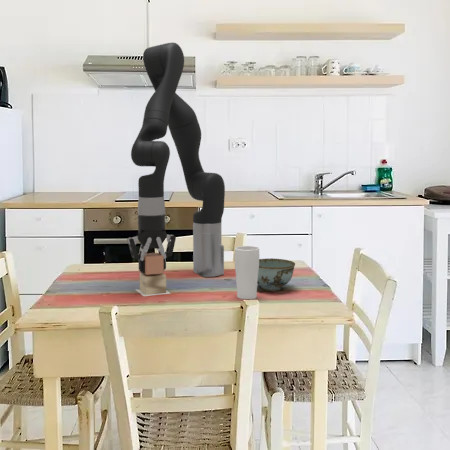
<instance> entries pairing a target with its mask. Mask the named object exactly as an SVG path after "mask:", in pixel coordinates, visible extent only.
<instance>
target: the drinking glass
mask: <svg viewBox="0 0 450 450" xmlns="http://www.w3.org/2000/svg"><path fill="white" fill-rule="evenodd" d="M259 259H260V248H259V247H258V246H254V245H240V246H236V247H235V248H234V269H235V271H234V272H235V282H236V297H237V298H238V299H240V300H245V299H250V300H255V299H257V297H258V295H257V293H258V284H257V283H258V272H259Z"/></svg>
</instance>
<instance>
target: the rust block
mask: <svg viewBox="0 0 450 450" xmlns="http://www.w3.org/2000/svg"><path fill="white" fill-rule="evenodd" d="M144 261H145V274H146V275H149V274H161V273H163V274H165V273H164V272H165V270H164V260H163V255H161V254H159V253H158V252H150V253H148V252H147V253H146V255H145V258H144Z"/></svg>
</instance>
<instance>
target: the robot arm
mask: <svg viewBox="0 0 450 450" xmlns="http://www.w3.org/2000/svg"><path fill="white" fill-rule="evenodd" d="M182 49H183V48H181V46H180V45H179V44H178V43H176V42H167V43H163V44H162V43H161V44H159V45H158V44H157V45H153V46H150V47H147V48H145V50H144V52H143V55H142V59H143V65H144V68H145V71H146V74H147V76H148V78H149V80H150V83H151V85H152V87H153V90H154V93H152V95H151V96H150V98H149V100H148V102H147V104H146V105H145V110H144V114H143V120H142V125H141V128H140V131H139V133H138V134H137V137H136V139H135V140H134V142H133V144H132V146H131V150H130V157H131V160H132V163H133V164H134V165H135V166H138V167H153V168H155V169H154V171H153V172H152V173H149V174H144V175H141V176H139V178H138V183H137V185H138V186H137V187H138V201H137V229H138V230H137V234H136V236H133V237H130V236H129V237H127V243H128V248H129V251H130V255H131V258H133V259H135V260H138V271H139V273H142V274H144V273H145V261H144V258H145V255H146V254H148V251H149V250H151V249H156V250H157V253H159V254H161V255H163V260H164V271H165V270H166V268H167V258H169V257H172V256H173V254H174V249H175V245H176V244H175V243H176V239H177V237H176V235H174V234H167V232H166V205H165V204H166V203H165V197H164V196H165V195H164V194H165V188H164V187H165V186H164V185H165V176H166V171H167V167H168V164H169V162H170V161H169V160H170V156H171V150H170V147H169V145H168V144H167V143H166V142H165V141H163V140H159V139H162V138H164V137H166V135H167V132H168V129H169V132H170V136H171V139H172V140H173V143H174V146H175V149H176V152H177V154H178V155H177V156H178V157H179V161H180V164H181V167H182V172H183V176H184V180H185V185H186V188H187V191H188V194H189V195H190V197H191V198H192V199H193V200H196V201H201V202H202V207H201V209H200V210H199V211H196V212H194V213H193V215H192V236H193V237H192V238H193V239H192V252H193V255H192V260H193V261H192V263H193V268H192V269H193V273H194V274H196V275H198V276H200V277H203V278H207V277H208V278H210V277H211V278H212V277H218V276H222V275H225V247H224V245H223V244H222V221H223V220H222V219H223V214H224V211H225V195H226V188H225V187H226V186H225V181H224V178H223V176H222V175H220V174H219V173H217V172H205V171H204V169H203V166H202V163H201V160H200V155H199V153H200V148H201V141H202V130H201V127H200V123H199V120H198V117H197V115H196V112H195V110H194V109H193V108H192V107H191V105H190V104H188V103H187V102H186V101H185V100H184V99H183V98H182V97H181V96H179V95H178V94H177V93H176V92H177V89H178V86H179V83H180V80H181V77H182V74H183V71H184V66H185V55H184V51H183V50H182ZM165 241H166V242H167V244H166V249H165V248H164V245H163V243H164V242H165ZM137 242H139V243H140V248H139V253H138V250H137V246H136V245H137V244H138V243H137Z"/></svg>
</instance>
